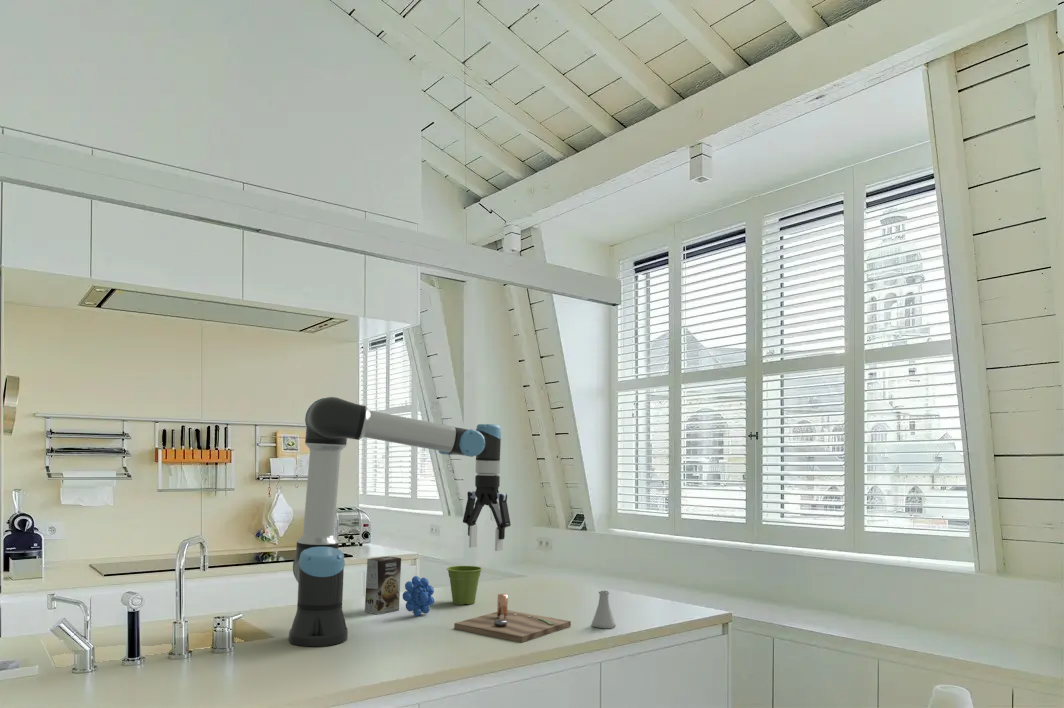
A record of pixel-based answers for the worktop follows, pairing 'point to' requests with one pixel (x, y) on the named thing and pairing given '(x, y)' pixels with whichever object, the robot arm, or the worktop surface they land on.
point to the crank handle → (502, 610)
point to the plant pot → (464, 583)
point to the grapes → (418, 595)
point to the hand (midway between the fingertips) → (485, 548)
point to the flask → (603, 612)
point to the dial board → (513, 626)
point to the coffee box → (383, 585)
